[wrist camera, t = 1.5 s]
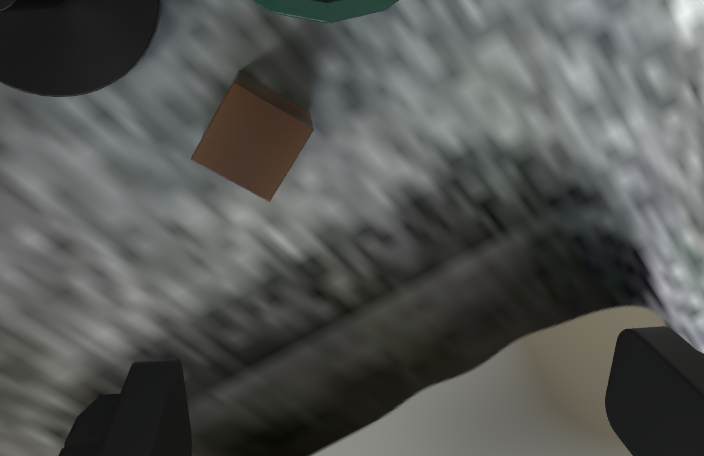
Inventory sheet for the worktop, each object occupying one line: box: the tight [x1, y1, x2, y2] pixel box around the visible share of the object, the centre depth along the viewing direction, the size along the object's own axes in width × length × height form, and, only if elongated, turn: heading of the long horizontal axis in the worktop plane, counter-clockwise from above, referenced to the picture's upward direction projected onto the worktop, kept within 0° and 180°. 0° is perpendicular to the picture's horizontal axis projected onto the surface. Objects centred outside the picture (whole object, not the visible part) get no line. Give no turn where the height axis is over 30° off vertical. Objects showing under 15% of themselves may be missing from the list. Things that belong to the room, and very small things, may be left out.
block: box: [191, 70, 314, 202], centre depth 27 cm, size 4×4×4 cm
